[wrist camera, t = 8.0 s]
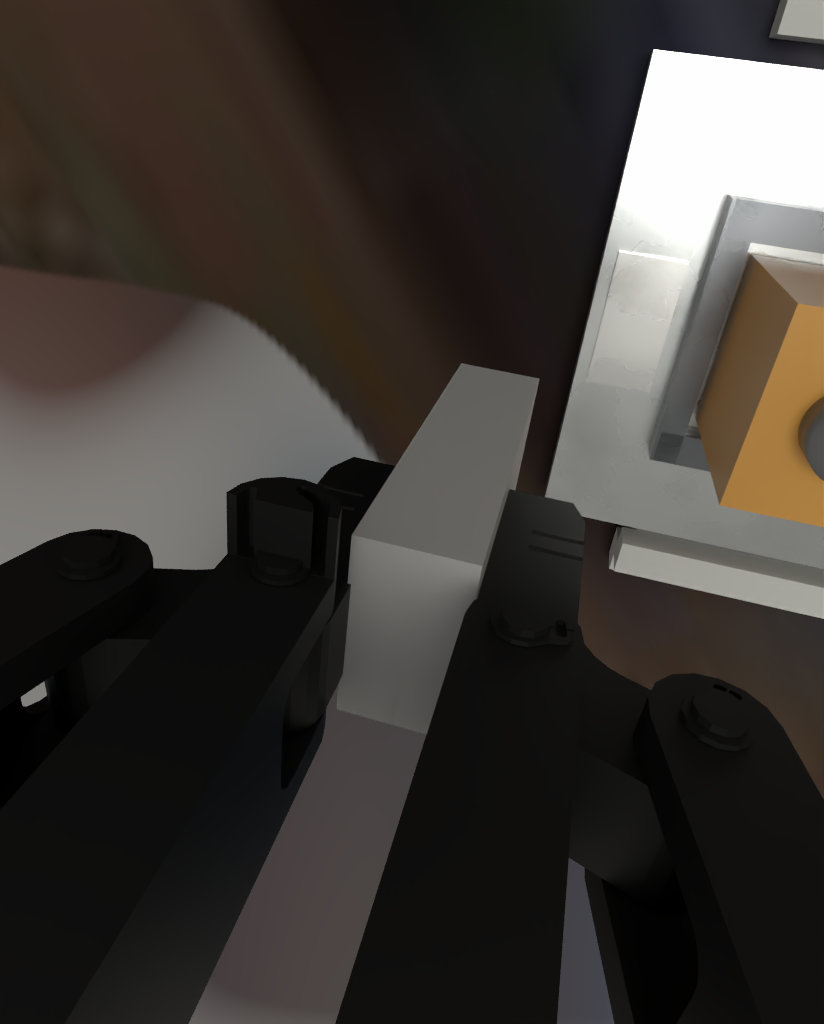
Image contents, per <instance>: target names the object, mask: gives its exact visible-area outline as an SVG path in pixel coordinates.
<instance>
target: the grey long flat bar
mask: <svg viewBox="0 0 824 1024" xmlns="http://www.w3.org/2000/svg"><path fill="white" fill-rule="evenodd" d="M769 38H774V39H783V40H791V41H800V42H809V43H817V44H824V0H780V3H779V6H778V9H777V12H776V16H775V19H774V22H773V25H772V29H771V32H770V35H769Z"/></svg>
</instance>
